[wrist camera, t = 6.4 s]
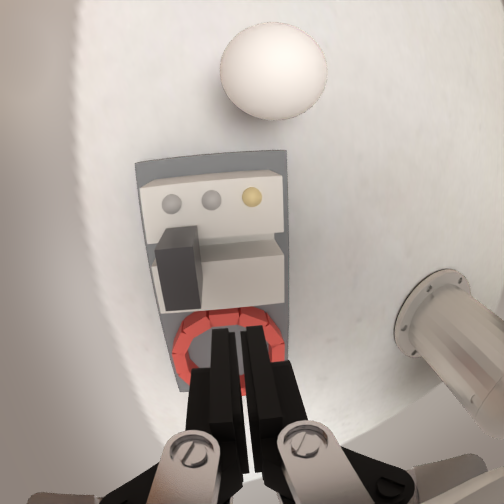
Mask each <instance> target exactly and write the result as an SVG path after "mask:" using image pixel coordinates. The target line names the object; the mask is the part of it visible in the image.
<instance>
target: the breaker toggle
mask: <svg viewBox="0 0 504 504" xmlns="http://www.w3.org/2000/svg"><path fill="white" fill-rule="evenodd" d="M154 252H155V258H156V263H157V269H158V275H159V280H160V285H161V290H162V295H163V300H164V305H165V310H166V311H178V310H192V309H201V305H202V289H203V272H202V264H201V256H200V247H199V238H198V229H197V226H187V227H177V228H167V229H165V231H164V233H163V235H162V237H161V238H160V240H159V242H158V244H157V246H156V248H155V250H154Z"/></svg>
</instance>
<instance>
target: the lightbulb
mask: <svg viewBox="0 0 504 504" xmlns="http://www.w3.org/2000/svg"><path fill="white" fill-rule="evenodd" d="M220 77H221V82H222V85H223V88H224V90H225V92H226V94H227V96H228V97H229V99H230V100H231V101H232V102H233V103H234V104H235V105H236V106H237V107H238V108H240V109H241V110H242V111H244V112H246V113H248V114H249V115H251V116H254V117H257V118H260V119H264V120H273V121H274V120H285V119H289V118H293V117H296V116H298V115H300V114H302V113H304V112H306V111H307V110H308V109H310V108H311V107H312V106H313V105H314V104H315V103H316V102H317V101H318V99H319V98H320V96H321V95H322V93H323V91H324V89H325V85H326V82H327V63H326V59H325V56H324V53H323V51H322V50H321V48H320V46H319V45H318V44H317V42H316V41H315V40H314V39H313V38H312V37H311V36H310V35H308V34H307V33H306V32H304V31H303V30H301V29H299V28H297V27H295V26H292V25H289V24H285V23H279V22H267V23H261V24H257V25H254V26H251V27H249V28H246V29H245V30H243V31H242V32H240V33H238V34H237V35H236V36H235V37H234V38H233V39H232V40H231V41H230V42H229V44H228V45H227V47H226V49H225V50H224V53H223V55H222V58H221V64H220Z"/></svg>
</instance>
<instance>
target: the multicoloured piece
mask: <svg viewBox="0 0 504 504" xmlns="http://www.w3.org/2000/svg"><path fill="white" fill-rule="evenodd" d="M135 171H136V180H137V189H138V197H139V205H140V212H141V219H142V226H143V233H144V239H145V245H146V251H147V257H148V262H149V268H150V273H151V278H152V283H153V288H154V293H155V298H156V302H157V307H158V311H159V316H160V320H161V324H162V328H163V332H164V336H165V340H166V344H167V348H168V352H169V356H170V360H171V363H172V367H173V370H174V374H175V377H176V381H177V384H178V388H179V391H180V392H189V387H190V378H191V370H192V368H208V367H210V363H211V338H212V329H221V328H228V330H229V332H235V337H236V347H237V356H238V366H239V375H240V384H241V394H242V396H246V389H245V378H244V368H243V357H242V346H241V335H240V331H246V326H257V325H262V326H263V330H264V335H265V339H266V344H267V348H268V353H269V358H270V362H278V361H286V360H288V329H289V225H288V181H287V151H286V150H266V151H245V152H230V153H216V154H205V155H194V156H184V157H175V158H167V159H159V160H151V161H144V162H138V163H135ZM187 226H197V229H198V238H199V247H200V256H201V264H202V272H203V289H202V305H201V309H192V310H178V311H166V310H165V305H164V300H163V295H162V290H161V285H160V280H159V275H158V269H157V263H156V258H155V252H154V250H155V248H156V246H157V244H158V242H159V240H160V238H161V237H162V235H163V233H164V231H165V229H167V228H177V227H187Z"/></svg>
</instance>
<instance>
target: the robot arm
mask: <svg viewBox="0 0 504 504" xmlns="http://www.w3.org/2000/svg"><path fill="white" fill-rule="evenodd" d="M240 335H241V346H242V357H243V368H244V378H245V389H246V398H247V408H248V417H249V426H250V434H251V443H252V452H253V460H254V468H255V473H258V472H262V477H263V480H264V484H265V485H266V486H267V487H269V488H271V489H273V490H274V491H276V492H277V496H278V499H279V501H280V504H504V466H503V467H499V468H496V469H493V470H490V471H488V470H487V467H486V464H485V462H484V461H483V459H482V458H481V457H479V456H478V455H475V454H464V455H461V456H457V457H453V458H450V459H446V460H441V461H437V462H433V463H428V464H423V465H418V466H414V467H413V468H412V469H410V470H403V469H401V468H398V467H395V466H392V465H389V464H386V463H383V462H381V461H378V460H375V459H372V458H369V457H367V456H364V455H361V454H359V453H356V452H354V451H351V450H349V449H346V448H344V447H342V446H340V445H339V443H338V442H337V440H336V438H335V436H334V435H333V433H332V432H331V431H330V429H329V428H328V427H326V426H325V425H323V424H322V423H319V422H316V421H309V420H308V418H307V415H306V412H305V408H304V405H303V402H302V399H301V395H300V392H299V389H298V385H297V382H296V379H295V375H294V372H293V369H292V366H291V363H290V361H289V360H286V361H278V362H270V358H269V353H268V348H267V344H266V339H265V335H264V330H263V326H262V325H257V326H246V331H240ZM395 341H396V344H397V346H398V347H399V349H400V350H401V351H402V352H403V353H404V354H405V355H407V356H409V357H413V358H417V357H423V358H424V359H425V361H426V362H427V363H428V364H429V365H430V366H431V368H432V369H433V370H434V371H435V372H436V374H437V375H438V376H439V377H440V378H441V380H442V381H443V382H444V383H445V384H446V386H447V387H448V388H449V389H450V391H451V392H452V393H453V394H454V395H455V397H456V398H457V399H458V401H459V402H460V403H461V404H462V406H463V407H464V408H465V409H466V411H467V412H468V413H469V414H470V416H471V417H472V418H473V420H474V421H475V422H476V423H477V425H478V426H479V427H480V429H481V430H482V431H483V432H484V433H486V434H487V435H488V436H490V437H492V438H496V439H504V321H503V320H502V319H501V318H499V317H498V316H497V315H496V314H494V313H493V312H492V311H490V310H489V309H488V308H487V307H485V306H484V305H483V304H481V303H480V302H479V301H477V300H476V299H475V298H473V297H472V296H471V292H470V285H469V282H468V280H467V279H466V277H465V276H463V275H462V274H461V273H459V272H457V271H456V270H451V269H447V270H441V271H438V272H436V273H434V274H432V275H430V276H429V277H427V278H426V279H425V280H424V281H422V282H421V283H420V284H419V285H418V286H417V287H416V288H415V289H414V290H413V292H412V293H411V294H410V295H409V297H408V298H407V300H406V301H405V303H404V305H403V306H402V309H401V311H400V313H399V315H398V318H397V321H396V325H395ZM246 473H249V465H248V455H247V446H246V436H245V426H244V415H243V404H242V394H241V384H240V375H239V366H238V356H237V347H236V337H235V332H229V330H228V328H221V329H212V338H211V363H210V367H208V368H192V370H191V378H190V387H189V397H188V407H187V418H186V429H185V431H183V432H180V433H178V434H176V435H174V436H172V437H171V438H170V439H169V440H168V441H167V443H166V445H165V447H164V449H163V452H162V456H161V458H160V462H158V463H157V464H156V465H154V466H152V467H151V468H150V469H148V470H147V471H145V472H143V473H142V474H140V475H139V476H137V477H136V478H134V479H132V480H131V481H129V482H127V483H126V484H124V485H122V486H121V487H119V488H117V489H116V490H114V491H112V492H110V493H109V494H107V495H106V496H105V497H96V496H95V495H75V494H57V493H47V492H38V493H35V494H33V495H31V497H30V498H29V499H28V502H27V504H232V503H233V495H234V494H235V493H236V492H238V491H239V490H240V489H241V488H242V487H243V485H242V482H243V474H246Z"/></svg>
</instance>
